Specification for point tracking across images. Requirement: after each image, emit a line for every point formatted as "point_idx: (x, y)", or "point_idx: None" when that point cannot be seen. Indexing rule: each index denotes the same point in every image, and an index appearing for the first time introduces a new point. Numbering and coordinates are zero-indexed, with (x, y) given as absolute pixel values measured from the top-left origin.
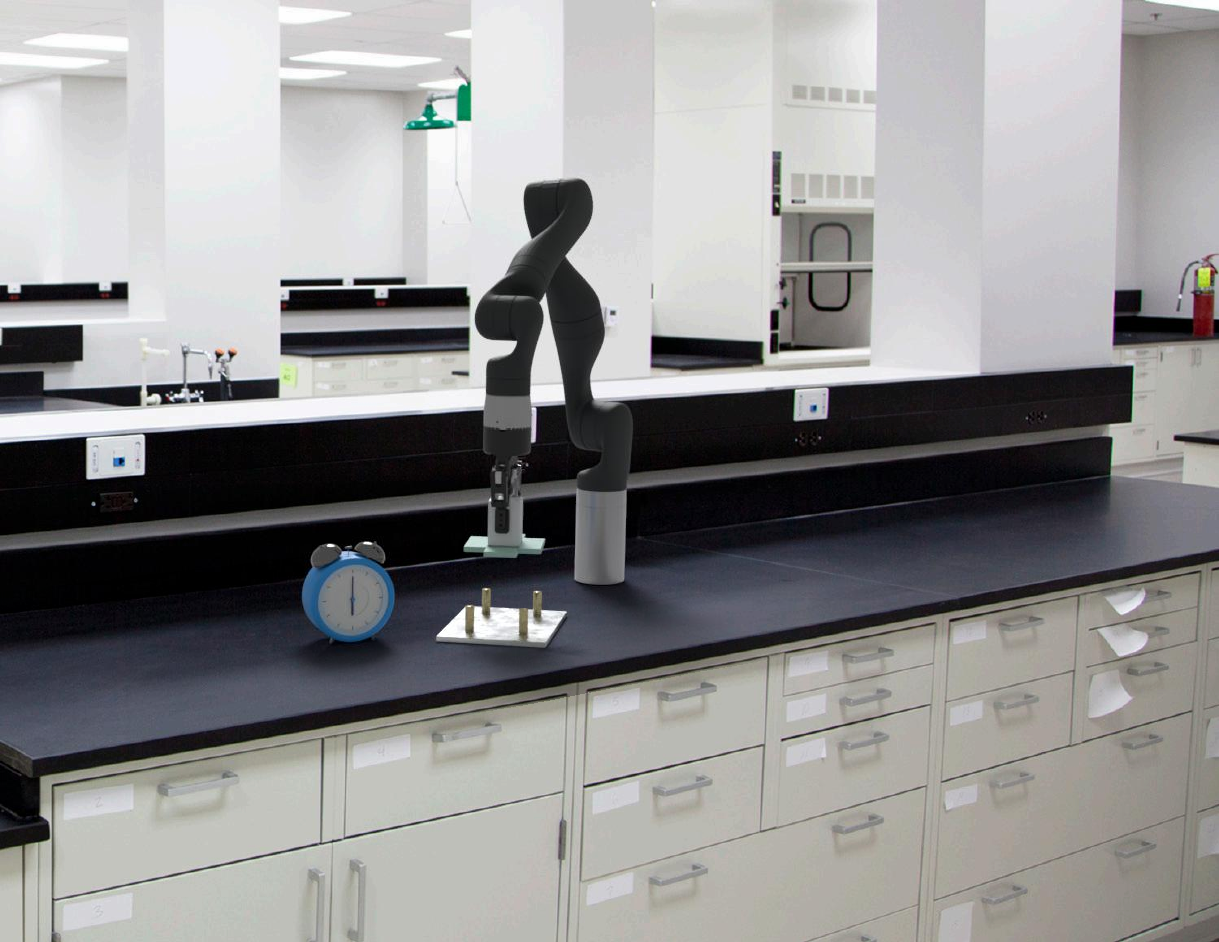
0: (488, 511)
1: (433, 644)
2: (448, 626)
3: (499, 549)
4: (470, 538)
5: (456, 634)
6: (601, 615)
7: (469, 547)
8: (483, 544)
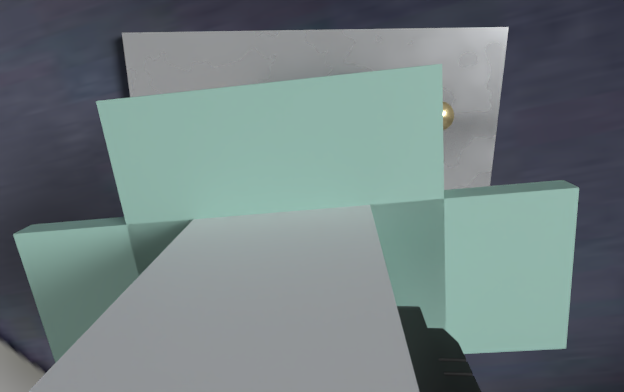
0: (85, 334)
1: (99, 34)
2: (237, 38)
3: (101, 295)
4: (362, 79)
5: (158, 83)
6: (493, 372)
7: (104, 134)
8: (200, 194)
